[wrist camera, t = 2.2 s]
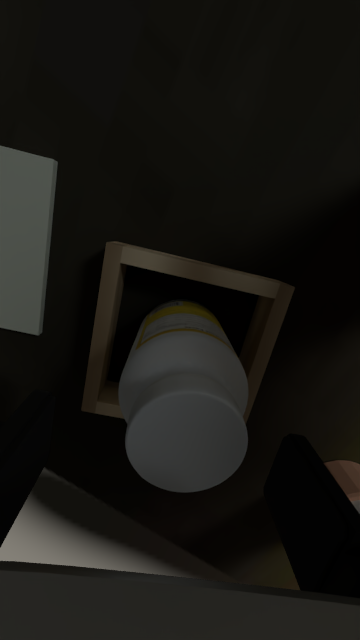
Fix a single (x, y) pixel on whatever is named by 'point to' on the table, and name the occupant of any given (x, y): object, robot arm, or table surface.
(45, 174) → the ceramic tile
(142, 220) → the table surface
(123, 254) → the oak cradle
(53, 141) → the table surface
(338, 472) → the pepper shaker
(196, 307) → the pill bottle
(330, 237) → the table surface
